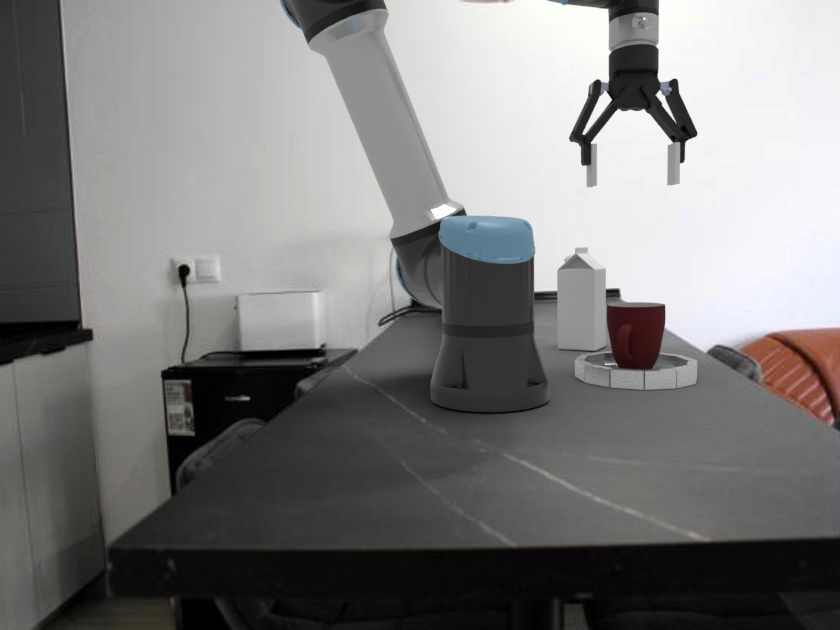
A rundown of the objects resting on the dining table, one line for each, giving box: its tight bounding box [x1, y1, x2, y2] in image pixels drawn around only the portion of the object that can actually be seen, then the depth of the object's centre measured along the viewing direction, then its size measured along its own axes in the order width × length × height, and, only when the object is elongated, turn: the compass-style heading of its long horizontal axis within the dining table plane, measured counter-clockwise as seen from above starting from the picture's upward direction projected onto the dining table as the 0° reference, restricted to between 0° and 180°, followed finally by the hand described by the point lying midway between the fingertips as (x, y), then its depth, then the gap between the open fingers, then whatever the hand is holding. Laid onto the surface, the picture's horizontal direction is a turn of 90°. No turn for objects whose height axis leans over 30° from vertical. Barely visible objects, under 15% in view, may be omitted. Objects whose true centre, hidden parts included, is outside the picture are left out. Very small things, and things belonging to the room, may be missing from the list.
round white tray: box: [574, 350, 698, 391], centre depth 90 cm, size 16×16×2 cm
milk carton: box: [556, 246, 607, 352], centre depth 117 cm, size 7×7×19 cm
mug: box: [606, 301, 666, 370], centre depth 89 cm, size 10×8×10 cm
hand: (632, 185), depth 100 cm, fingers open, 13 cm apart
